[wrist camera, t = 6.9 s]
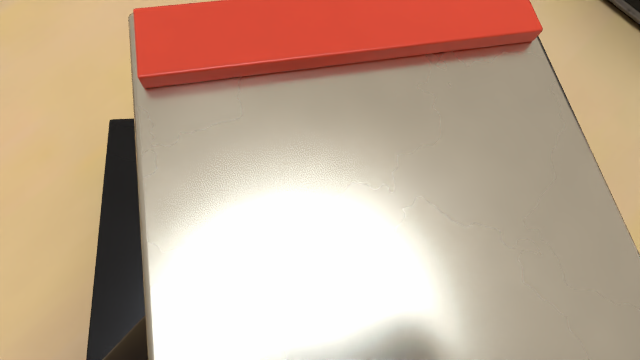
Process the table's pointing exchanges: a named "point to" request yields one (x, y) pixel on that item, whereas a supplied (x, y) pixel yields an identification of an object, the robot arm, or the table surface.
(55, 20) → the table surface
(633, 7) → the electronic device
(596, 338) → the brushed aluminum block
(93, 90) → the table surface
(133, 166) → the dial plate
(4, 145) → the table surface
